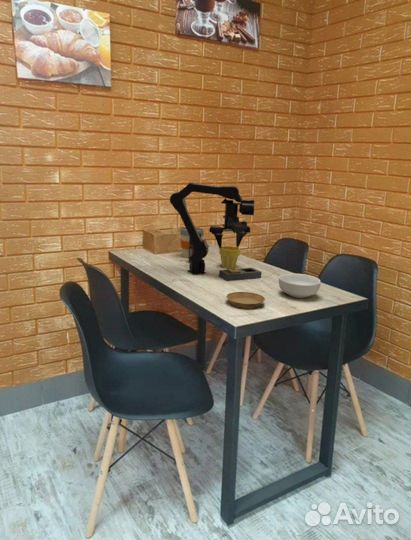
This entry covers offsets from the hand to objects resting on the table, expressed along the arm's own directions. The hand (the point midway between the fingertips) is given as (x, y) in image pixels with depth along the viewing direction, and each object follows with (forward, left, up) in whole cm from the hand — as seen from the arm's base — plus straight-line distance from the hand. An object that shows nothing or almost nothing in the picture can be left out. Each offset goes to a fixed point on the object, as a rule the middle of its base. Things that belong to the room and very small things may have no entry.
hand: (228, 247), depth 210 cm
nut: (0, -5, -13) cm, 14 cm away
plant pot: (+9, +14, -13) cm, 21 cm away
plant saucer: (-14, -38, -14) cm, 43 cm away
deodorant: (-4, +27, -13) cm, 30 cm away
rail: (+4, -5, -13) cm, 14 cm away
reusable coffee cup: (0, +39, -13) cm, 41 cm away
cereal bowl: (+13, -36, -13) cm, 40 cm away
